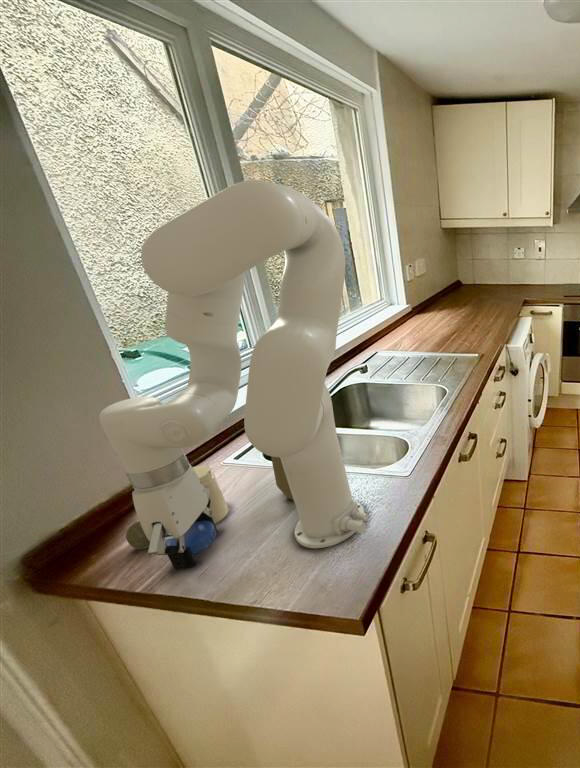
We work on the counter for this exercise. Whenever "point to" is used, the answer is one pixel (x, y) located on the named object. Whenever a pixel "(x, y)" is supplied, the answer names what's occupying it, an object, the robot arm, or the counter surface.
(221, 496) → the jar
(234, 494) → the counter surface
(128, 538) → the lime
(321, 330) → the robot arm
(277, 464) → the squeeze bottle
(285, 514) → the counter surface
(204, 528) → the lid
